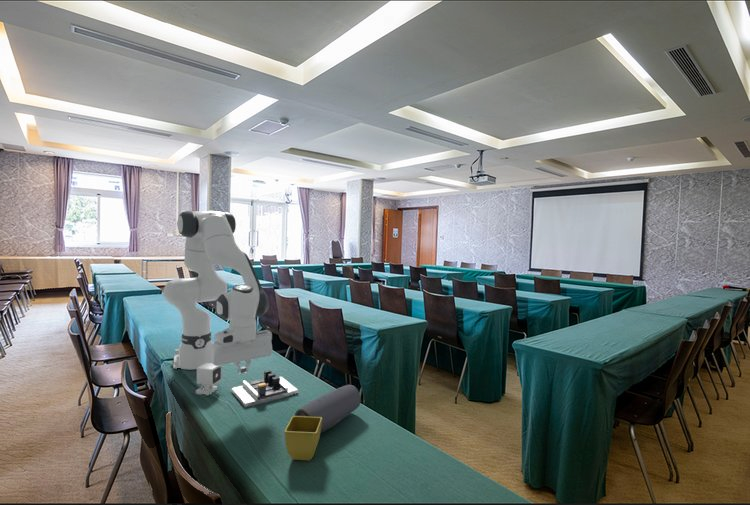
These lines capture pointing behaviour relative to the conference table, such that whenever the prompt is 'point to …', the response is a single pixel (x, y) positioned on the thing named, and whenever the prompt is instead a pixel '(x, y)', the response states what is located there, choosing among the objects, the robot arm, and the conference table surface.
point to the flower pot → (302, 436)
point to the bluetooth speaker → (332, 406)
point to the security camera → (208, 377)
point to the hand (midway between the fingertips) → (242, 372)
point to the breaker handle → (261, 388)
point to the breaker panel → (274, 390)
